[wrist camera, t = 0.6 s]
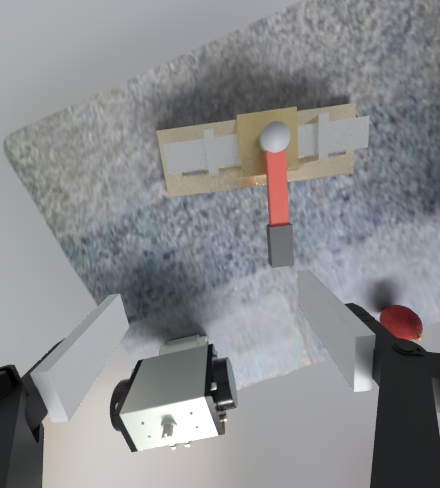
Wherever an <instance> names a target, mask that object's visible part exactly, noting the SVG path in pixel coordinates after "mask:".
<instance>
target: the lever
mask: <svg viewBox="0 0 440 488" xmlns="http://www.w3.org/2000/svg"><path fill="white" fill-rule="evenodd" d="M289 141H290V130H289V128H288V126H287V125H286V124H285V123H283V122H281V121H273V122H271V123H269V124H268V125H267V126H266V127H265V128H264V129H263V130H262V132H261V134H260V137H259V144H260V147H261V149H262V150H263V151H264V152H265V166H266V181H267V196H268V211H269V224H268V225H267V239H268V254H269V263H270V265H271V266H272V268H274V267H283V266H291V265H294V257H293V231H292V224H290V223H289V216H288V193H287V169H286V147H287V145H288V144H289Z"/></svg>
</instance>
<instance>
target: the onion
mask: <svg viewBox="0 0 440 488" xmlns="http://www.w3.org/2000/svg"><path fill="white" fill-rule="evenodd" d="M380 323H381V324H382V325H383V326H384V327H385V328H386V329H387V330H389V331H390V332H391V333H392V334H393V335H394V336H396V337H397V338H403V339H407V340H412V339H415V340H417V341H420V340H421V339H422V336H421V333H422V330H423V328H422V322H421V320H420V318H419V316H418V315H417V314H416V313H414V312H413V311H412V310H411V309H409V308H407V307H405V306H401V305H392V306H388V307H387V308H385V309H384V310H383V311H382V312H381V315H380Z"/></svg>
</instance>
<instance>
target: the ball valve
mask: <svg viewBox="0 0 440 488" xmlns="http://www.w3.org/2000/svg"><path fill="white" fill-rule="evenodd" d="M236 407H237V391H236V384H235V378H234V374H233V369H232V366H231V362H230V360H229V358H228V357H225V358H220V359H218V357H217V351H215V348H214V345H213V344H209V340H208V337H207V336H202V337H201V336H200V335H199V334H198V335H194V336H190V337H185V338H181V339H177V340H172V341H168V342H167V343H166V345H163V346H161V347H160V350H159V356H156V357H151V358H147V359H143V360H138V362H137V364H136V366H135V369H133V370H132V375H131V377H130V379H125V380H122V381H120V382H119V383H118V384H117V386H116V387H115V389H114V392H113V394H112V398H111V403H110V418H111V423H112V425H113V427H114V429H115V430H117V431H121V432H122V434H123V436H124V438H125V440H126V442H127V444H128V446H129V447H130V449H131V452H135V451H141V450H146V449H151V448H156V447H161V446H166V445H170V447H171V449H173V450H174V449H176V448H177V447H178V444H179V443H181V442H184V444H185V446H186V447H188V446H190V445H191V444H192V440H197V439H202V438H207V437H212V436H217V435H222V434H225V422H224V421H227V419H228V418H227V414H226V410H228V409H233V408H236Z"/></svg>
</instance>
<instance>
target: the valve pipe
mask: <svg viewBox="0 0 440 488" xmlns="http://www.w3.org/2000/svg"><path fill="white" fill-rule="evenodd" d="M355 117H356V103H351V104H344V105H337V106H330V107H323V108H315V109H308V110H301V111H297V106H296V107H289V108H282V109H275V110H268V111H261V112H253V113H246V114H239V115H236V119H235V120H229V121H222V122H215V123H208V124H201V125H194V126H186V127H179V128H172V129H165V130H158V131H156V132H157V137H158V143H159V148H160V154H161V159H162V165H163V170H164V175H165V181H166V186H167V192H168V197H175V196H183V195H191V194H199V193H206V192H214V191H222V190H229V189H237V188H245V187H253V186H260V185H267V181H266V166H265V152H264V151H263V150H262V149H261V147H260V144H259V137H260V134H261V132H262V130H263V129H264V128H265V127H266V126H267V125H268V124H269V123H271V122H273V121H281V122H283V123H285V124H286V125H287V126H288V128H289V130H290V141H289V144H288V145H287V147H286V169H287V182H291V181H299V180H307V179H314V178H322V177H330V176H337V175H345V174H353V173H354V150H358V149H362V148H366V147H368V136H369V116H364V117H357V118H355Z"/></svg>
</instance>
